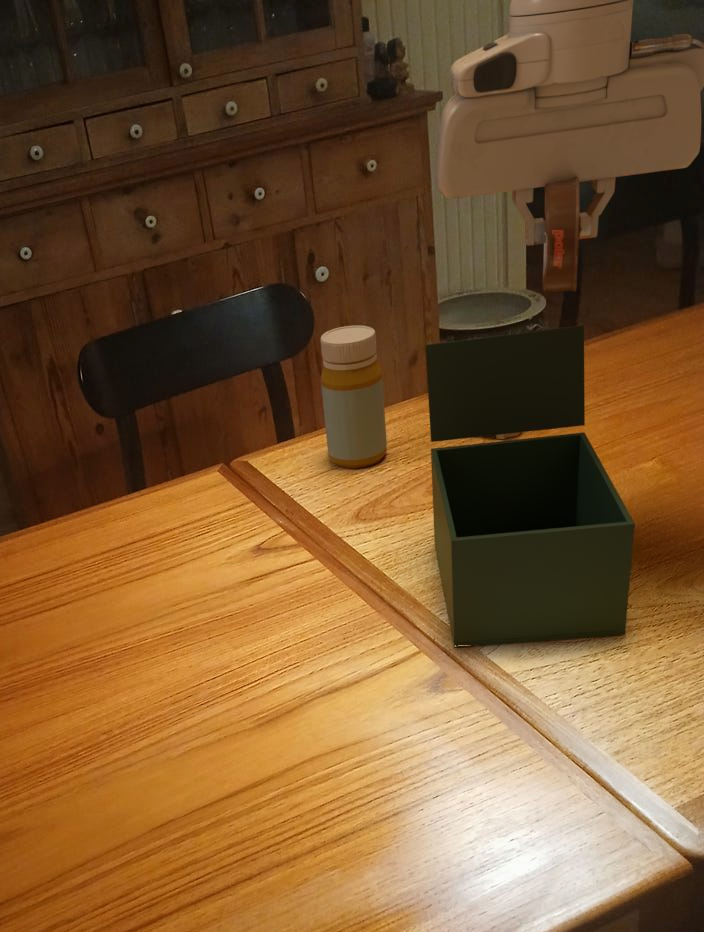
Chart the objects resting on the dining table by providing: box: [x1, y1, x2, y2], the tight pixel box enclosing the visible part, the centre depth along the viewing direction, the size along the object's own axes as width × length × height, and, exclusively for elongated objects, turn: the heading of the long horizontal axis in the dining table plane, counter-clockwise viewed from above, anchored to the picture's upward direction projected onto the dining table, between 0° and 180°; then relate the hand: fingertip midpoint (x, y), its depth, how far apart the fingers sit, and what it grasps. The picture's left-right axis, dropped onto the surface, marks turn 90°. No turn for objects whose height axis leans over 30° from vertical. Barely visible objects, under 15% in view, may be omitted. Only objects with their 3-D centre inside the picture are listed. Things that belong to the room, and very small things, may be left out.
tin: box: [542, 177, 580, 293], centre depth 82 cm, size 15×3×8 cm, turn 165°
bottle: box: [320, 325, 388, 469], centre depth 115 cm, size 7×7×15 cm
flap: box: [424, 324, 586, 443], centre depth 90 cm, size 14×9×1 cm
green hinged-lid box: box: [430, 431, 636, 647], centre depth 88 cm, size 14×18×10 cm
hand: (560, 240), depth 83 cm, fingers closed on tin, 3 cm apart
